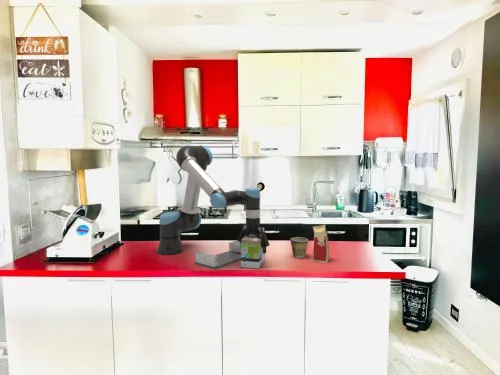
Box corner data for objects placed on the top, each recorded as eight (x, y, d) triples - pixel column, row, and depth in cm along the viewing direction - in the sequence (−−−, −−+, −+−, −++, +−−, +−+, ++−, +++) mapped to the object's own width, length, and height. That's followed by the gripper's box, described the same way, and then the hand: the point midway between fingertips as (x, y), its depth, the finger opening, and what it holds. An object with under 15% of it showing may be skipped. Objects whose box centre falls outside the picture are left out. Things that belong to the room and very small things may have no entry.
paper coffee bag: (329, 258, 196) (330, 223, 194) (327, 263, 187) (328, 226, 185) (313, 256, 199) (313, 222, 197) (310, 261, 190) (310, 225, 188)
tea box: (259, 269, 178) (259, 240, 177) (240, 267, 181) (240, 239, 179) (265, 260, 193) (265, 233, 192) (247, 259, 195) (247, 232, 194)
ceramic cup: (306, 259, 194) (306, 241, 193) (288, 258, 197) (288, 240, 196) (310, 253, 206) (310, 236, 205) (293, 251, 209) (293, 235, 208)
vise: (195, 263, 188) (194, 252, 187) (241, 248, 217) (240, 238, 217) (215, 269, 178) (215, 257, 178) (260, 252, 208) (260, 242, 207)
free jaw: (229, 250, 208) (229, 242, 207) (240, 246, 216) (240, 239, 215) (247, 254, 199) (247, 246, 199) (258, 250, 207) (258, 242, 207)
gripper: (230, 215, 189) (231, 254, 191) (267, 220, 174) (267, 263, 176) (239, 213, 195) (240, 251, 197) (276, 218, 180) (276, 259, 182)
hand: (253, 257), depth 187 cm, fingers closed on tea box, 12 cm apart
